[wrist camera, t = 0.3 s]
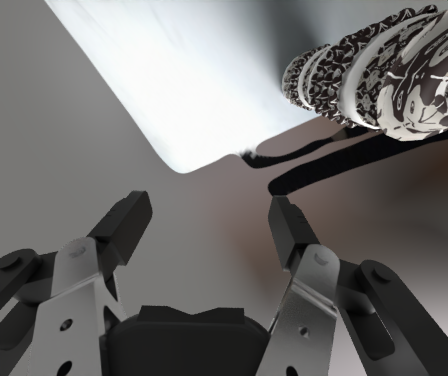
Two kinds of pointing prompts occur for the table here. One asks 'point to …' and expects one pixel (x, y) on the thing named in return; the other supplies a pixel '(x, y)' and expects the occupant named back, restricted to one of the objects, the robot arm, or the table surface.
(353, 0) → the table surface
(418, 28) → the decorative candle
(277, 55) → the table surface
